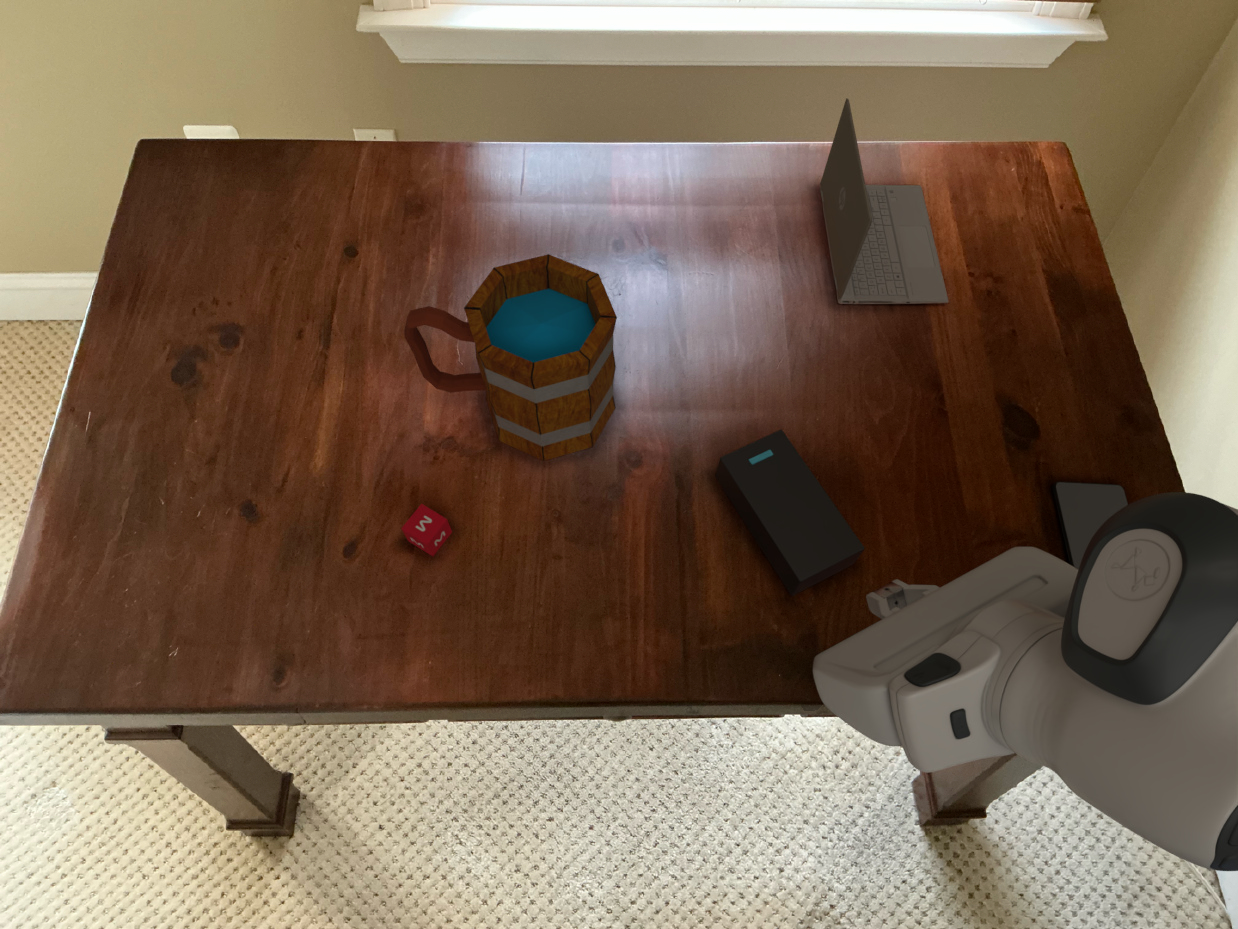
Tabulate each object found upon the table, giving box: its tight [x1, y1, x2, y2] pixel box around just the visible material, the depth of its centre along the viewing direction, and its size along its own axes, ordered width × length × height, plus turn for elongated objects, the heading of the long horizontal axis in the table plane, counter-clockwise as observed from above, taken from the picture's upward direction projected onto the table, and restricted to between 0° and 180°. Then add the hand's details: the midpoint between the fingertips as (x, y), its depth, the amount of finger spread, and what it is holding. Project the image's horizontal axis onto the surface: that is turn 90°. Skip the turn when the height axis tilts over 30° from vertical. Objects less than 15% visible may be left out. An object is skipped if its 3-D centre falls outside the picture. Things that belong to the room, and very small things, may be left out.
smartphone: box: [1052, 481, 1129, 570], centre depth 78 cm, size 7×1×15 cm
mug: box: [403, 254, 618, 462], centre depth 79 cm, size 20×14×15 cm
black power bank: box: [714, 428, 866, 597], centre depth 78 cm, size 4×7×14 cm
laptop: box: [819, 98, 949, 305], centre depth 91 cm, size 18×12×13 cm
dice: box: [401, 503, 453, 557], centre depth 77 cm, size 3×3×3 cm
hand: (881, 594), depth 66 cm, fingers closed
